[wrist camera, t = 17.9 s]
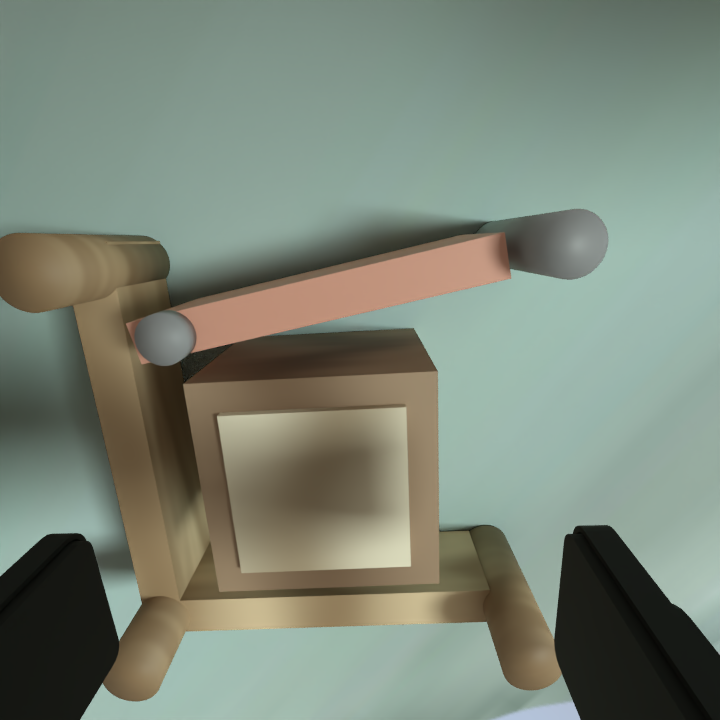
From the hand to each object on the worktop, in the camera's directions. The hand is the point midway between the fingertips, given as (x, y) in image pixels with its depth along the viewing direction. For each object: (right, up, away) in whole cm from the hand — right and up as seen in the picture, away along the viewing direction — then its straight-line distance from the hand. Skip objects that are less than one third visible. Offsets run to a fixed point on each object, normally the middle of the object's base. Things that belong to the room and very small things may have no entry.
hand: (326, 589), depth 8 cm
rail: (0, +8, +8) cm, 11 cm away
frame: (-1, +2, +10) cm, 10 cm away
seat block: (0, +2, +10) cm, 10 cm away
